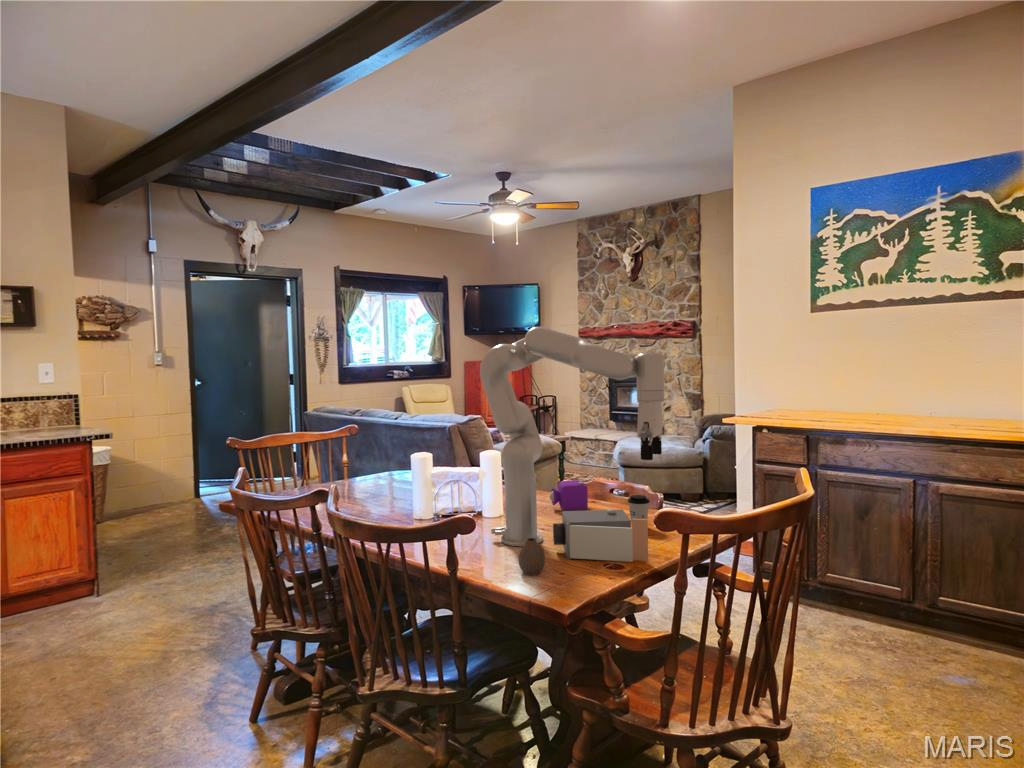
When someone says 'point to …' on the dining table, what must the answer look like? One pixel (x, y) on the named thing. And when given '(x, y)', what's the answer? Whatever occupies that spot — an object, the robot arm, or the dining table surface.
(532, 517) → the robot arm
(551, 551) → the dining table surface
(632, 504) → the coffee cup
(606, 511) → the camera housing
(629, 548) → the door
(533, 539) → the vase
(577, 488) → the toy camera
